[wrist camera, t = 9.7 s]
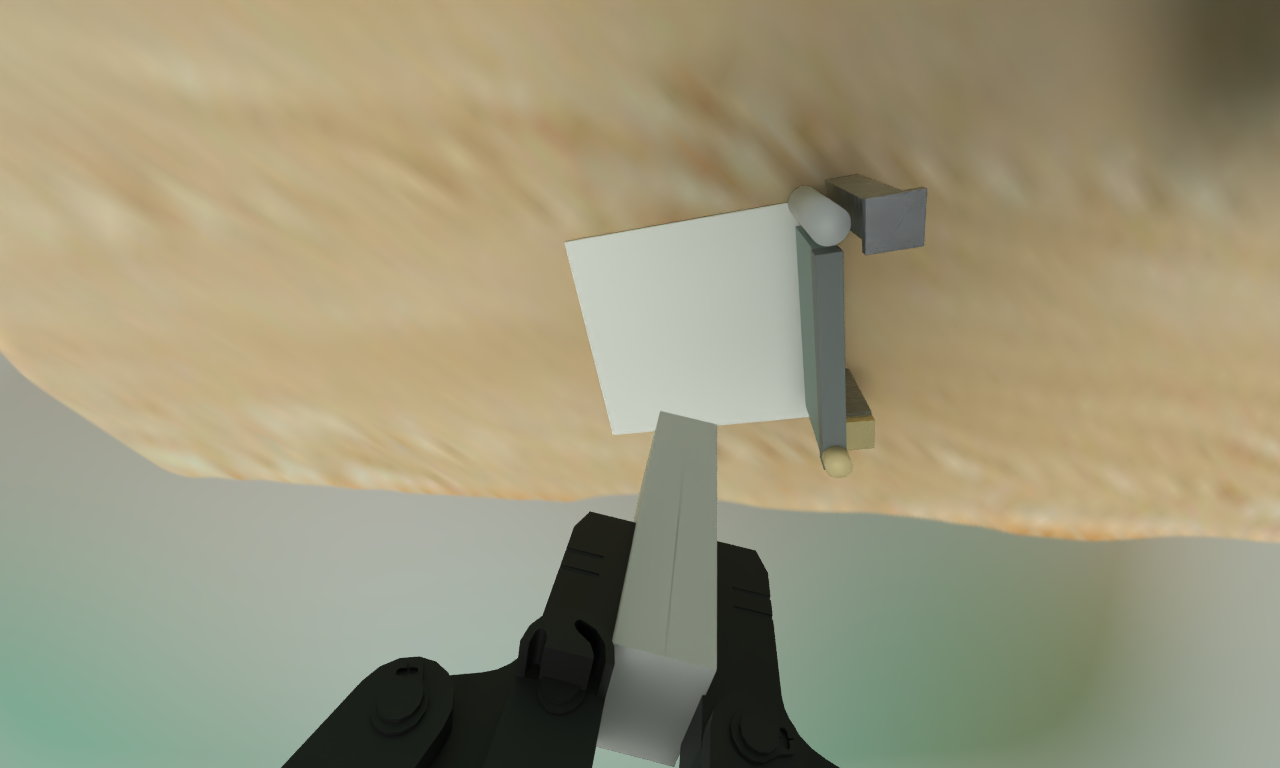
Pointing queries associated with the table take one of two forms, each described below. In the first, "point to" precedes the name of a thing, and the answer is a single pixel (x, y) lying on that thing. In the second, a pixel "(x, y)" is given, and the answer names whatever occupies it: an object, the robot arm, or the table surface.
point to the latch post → (857, 417)
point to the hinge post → (881, 212)
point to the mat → (695, 319)
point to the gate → (823, 321)
